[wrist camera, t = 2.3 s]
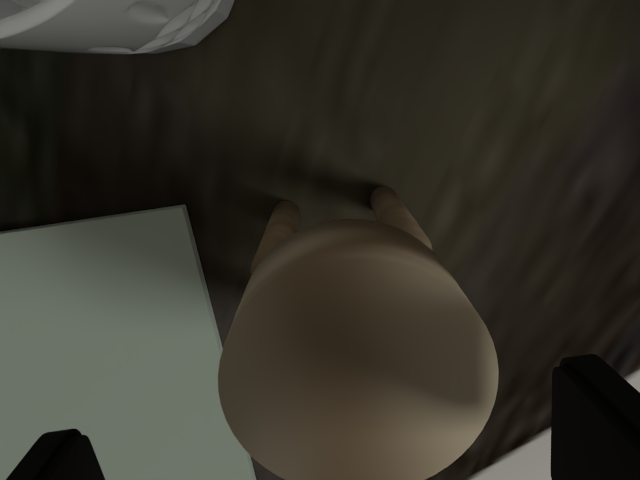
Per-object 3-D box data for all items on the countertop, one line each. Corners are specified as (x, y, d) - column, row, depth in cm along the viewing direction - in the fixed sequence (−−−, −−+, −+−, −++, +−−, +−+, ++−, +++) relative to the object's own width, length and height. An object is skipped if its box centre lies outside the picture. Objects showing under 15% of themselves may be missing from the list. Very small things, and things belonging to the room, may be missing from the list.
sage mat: (185, 204, 18) (181, 207, 17) (260, 497, 23) (259, 506, 23) (-180, 258, 19) (-192, 262, 18) (-29, 529, 24) (-36, 538, 23)
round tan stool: (410, 165, 17) (495, 239, 9) (422, 308, 19) (501, 480, 11) (251, 189, 18) (187, 282, 9) (280, 327, 20) (248, 507, 11)
